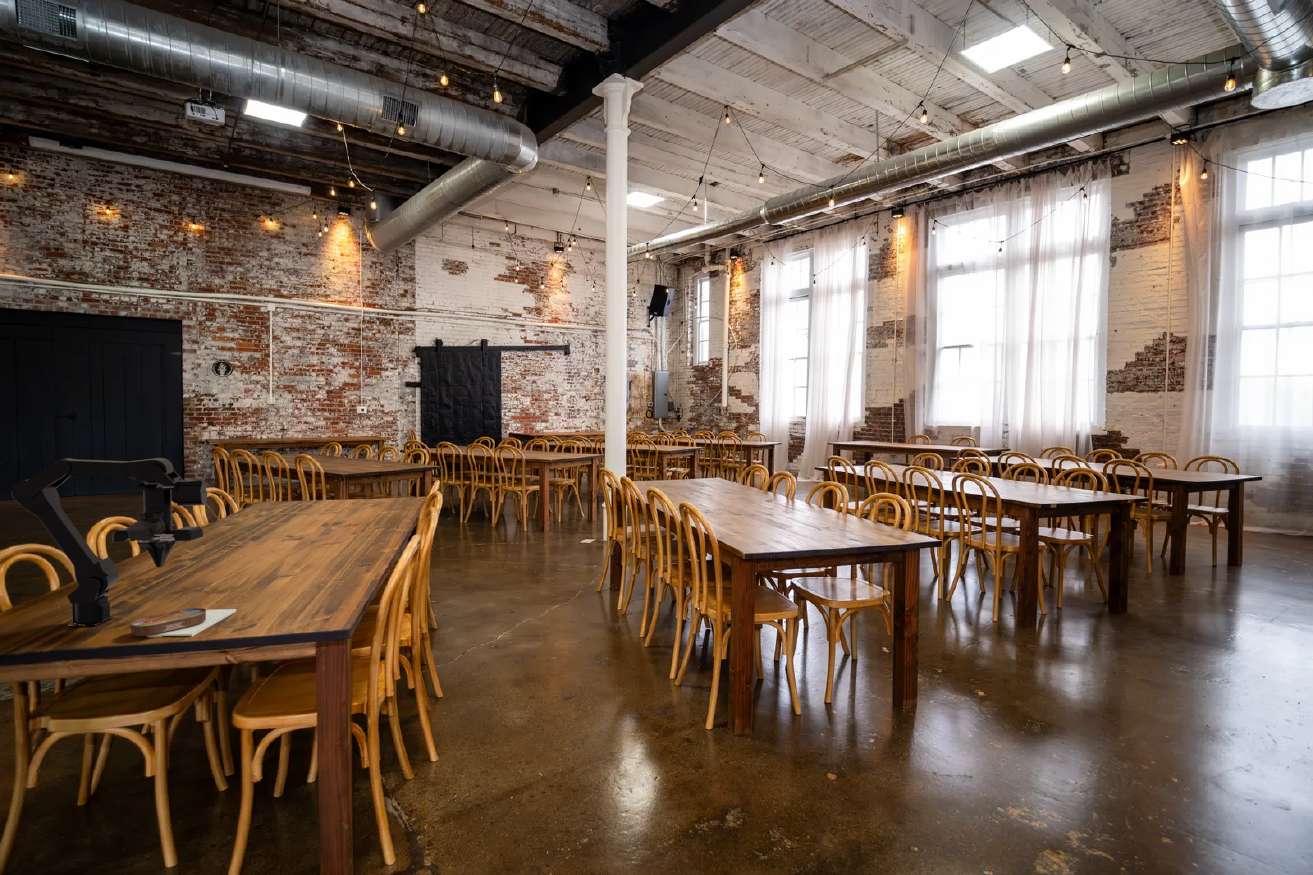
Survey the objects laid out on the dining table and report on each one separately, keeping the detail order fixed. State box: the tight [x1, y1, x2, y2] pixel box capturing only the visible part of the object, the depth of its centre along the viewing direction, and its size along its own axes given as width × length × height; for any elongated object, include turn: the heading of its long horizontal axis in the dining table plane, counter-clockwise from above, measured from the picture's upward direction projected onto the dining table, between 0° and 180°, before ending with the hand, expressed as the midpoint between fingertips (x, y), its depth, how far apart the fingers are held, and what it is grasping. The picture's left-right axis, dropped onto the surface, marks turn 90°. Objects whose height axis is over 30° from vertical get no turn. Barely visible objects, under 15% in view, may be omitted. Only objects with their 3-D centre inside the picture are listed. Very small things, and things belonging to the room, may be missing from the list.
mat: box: [146, 608, 237, 638], centre depth 163 cm, size 10×19×1 cm, turn 5°
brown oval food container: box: [129, 607, 207, 637], centre depth 158 cm, size 15×3×8 cm
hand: (159, 567), depth 167 cm, fingers closed
